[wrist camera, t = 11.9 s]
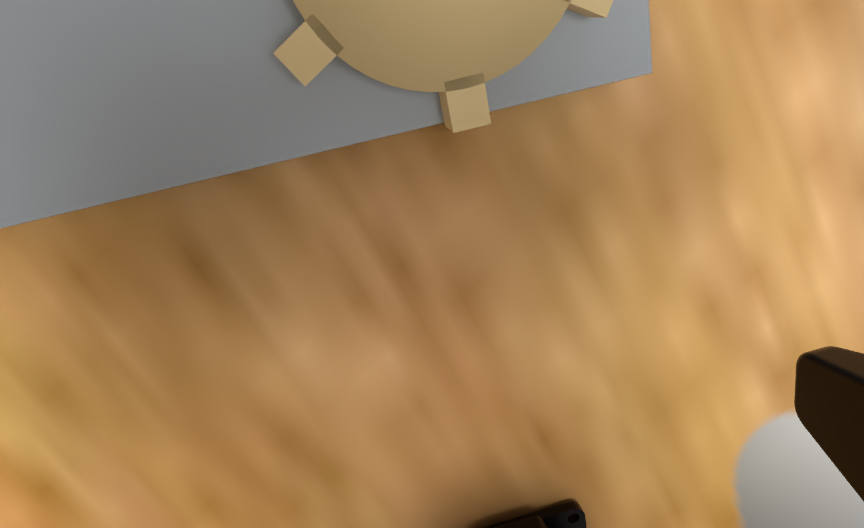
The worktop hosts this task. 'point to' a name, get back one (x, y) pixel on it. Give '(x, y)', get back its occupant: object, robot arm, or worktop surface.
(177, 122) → the gear board
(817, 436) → the robot arm
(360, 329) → the worktop surface
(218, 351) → the worktop surface
